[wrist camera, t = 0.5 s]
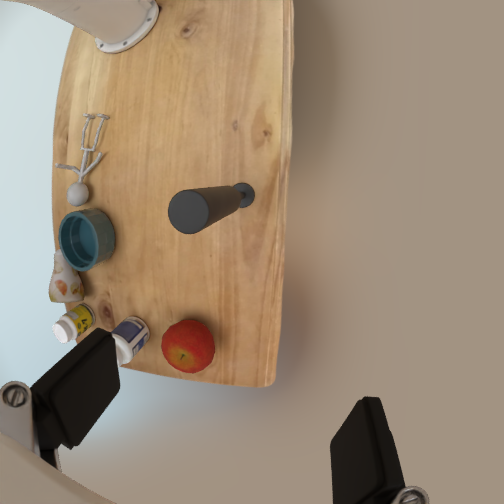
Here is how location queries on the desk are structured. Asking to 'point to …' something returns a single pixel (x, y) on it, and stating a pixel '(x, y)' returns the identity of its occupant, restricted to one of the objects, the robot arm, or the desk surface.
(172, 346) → the apple
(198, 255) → the desk surface
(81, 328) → the supplement bottle
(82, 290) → the mug
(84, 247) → the bowl
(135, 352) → the pill bottle
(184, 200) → the cylinder on disc stand
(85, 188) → the figurine
